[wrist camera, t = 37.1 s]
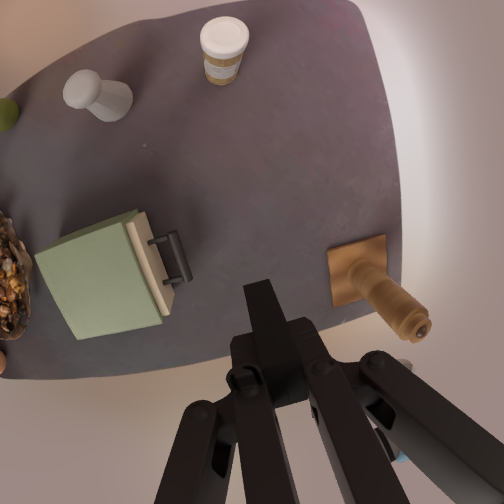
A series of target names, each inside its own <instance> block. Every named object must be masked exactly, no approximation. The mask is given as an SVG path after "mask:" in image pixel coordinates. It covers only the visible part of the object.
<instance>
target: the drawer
mask: <svg viewBox="0 0 504 504" xmlns="http://www.w3.org/2000/svg"><path fill="white" fill-rule="evenodd" d="M125 228H126V231H127V234H128V237H129V239H130V242H131V245H132V248H133V250H134V253H135V255H136V258H137V261H138V263H139V266H140V268H141V271H142V273H143V275H144V278H145V280H146V283H147V285H148V287H149V290H150V292H151V294H152V296H153V299H154V301H155V303H156V304H157V306H158V308H159V310H160V313H161V315H162V316H165V315H170V312H171V307H172V303H173V299H174V295H175V293H174V290H173V288H172V285H171V283H175V282H179V281H184V282H189V281H191V280H192V279H193V276H192V274H191V271H190V268H189V265H188V262H187V259H186V256H185V253H184V250H183V247H182V245H181V241H180V238H179V235H178V232H177V230H173V231H170V232H168V233H167V235H164V236H161V237H157V238H154V237H153V234H152V231H151V229H150V226H149V223H148V220H147V217H146V213H145V211H144V212H141V213H138V214H137V215H136V216H134V217H133V218H132V219H131V220H130V221H129V222H127V223H126V224H125ZM168 239H169V242H170V245H171V248H172V251H173V254H174V257H175V259H176V262H177V265H178V268H179V271H180V273H181V276H177V277H173V278H168V275H167V273H166V270H165V267H164V265H163V262H162V259H161V257H160V254H159V251H158V249H157V246H156V243H159V242H163V241H166V240H168Z"/></svg>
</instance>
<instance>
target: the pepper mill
mask: <svg viewBox="0 0 504 504" xmlns="http://www.w3.org/2000/svg"><path fill="white" fill-rule="evenodd" d="M348 280H349V282H350V283H351V284H352V285H353V286H354V288H355V289H356V290H357V291H358V292H359V293H360V294H361V295H362V296H363V297H364V298H365V299H366V301H367V302H368V303H369V304H370V305H371V306H372V307H373V308H374V309H375V310H376V312H377V313H378V314H379V315H380V316H381V317H382V318H383V319H384V320H385V322H386V323H387V324H388V325H389V326H390V327H391V328H392V329H393V330H394V332H395V333H396V334H397V335H398V336H399V338H400V339H402V340H410V342H412V343H417V342H419V341H421V340H422V339H423V338H425V337H426V336H427V334H428V333H429V331H430V329H431V325H432V323H431V320H429V318H428V316H429V315H428V310H427V309H426V308H425V307H424V306H422V305H421V304H420V303H419V302H418V301H417V300H416V299H415V298H413V297H412V296H411V295H410V294H409V293H408V292H406V291H405V290H404V289H403V288H402V287H401V286H399V285H398V284H397V283H396V282H395V281H393V280H392V279H391V278H390V277H389V276H387V275H386V274H385V273H384V272H383V271H381V270H380V269H379V268H378V267H376V266H375V265H374V264H373V263H371V262H370V261H369V260H367V259H360V260H357V261H356V262H354V263H353V264H352V265H351V267H350V269H349V271H348Z"/></svg>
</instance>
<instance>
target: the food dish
mask: <svg viewBox="0 0 504 504" xmlns="http://www.w3.org/2000/svg"><path fill="white" fill-rule="evenodd" d="M32 268H33V264H32V260H31V257H30V256H29V254H28V253H27V252H26V249H25V246H24V244H23V243H22V242H21V241H20V240H19V239H18V238H17V236H16V234H15V231H14V229H13V227H12V220H11V218H9V219H8V218H6V217H5V216H4V215H3V213H2V211H0V339H5V340H16V339H18V338H19V337H21V336H22V334H23V333H24V331H25V330H26V327H27V326H26V325H25V326H24V325H22V324H21V325H20V318H21V314H26V310H28V315H29V317H30V279H31V270H32ZM26 307H27V309H26ZM26 321H27V323H28V321H29V319H28V317H27V319H26ZM16 327H17V332H16Z"/></svg>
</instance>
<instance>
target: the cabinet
mask: <svg viewBox="0 0 504 504" xmlns="http://www.w3.org/2000/svg"><path fill="white" fill-rule="evenodd" d="M138 213H139V211H138V209H135V210H132V211H129V212H126V213H123V214H120V215H118V216H115V217H112V218H109V219H106V220H104V221H101V222H98V223H96V224H93V225H90V226H88V227H85V228H83V229H80V230H78V231H75V232H73V233H70V234H68V235H65V236H63V237H60V238H58V239H57V240H55V241H54V242H52V243H51V244H49V245H48V246H46V247H45V248H44V249H42V250H41V251H39V252H38V253H37V254H35V255H34V256H35V259H36V261H37V264H38V266H39V268H40V271H41V273H42V275H43V277H44V279H45V282H46V284H47V286H48V288H49V290H50V292H51V294H52V296H53V298H54V300H55V302H56V304H57V306H58V307H59V309H60V311H61V313H62V315H63V317H64V318H65V320H66V322H67V324H68V325H69V327H70V329H71V330H72V332H73V334H74V335H75V337H76V339H77V340H79V339H85V338H91V337H96V336H102V335H107V334H113V333H118V332H123V331H128V330H133V329H138V328H143V327H148V326H153V325H157V324H162V323H163V320H164V316H162V315H161V313H160V310H159V308H158V306H157V304H156V303H155V301H154V299H153V296H152V294H151V292H150V290H149V287H148V285H147V283H146V280H145V278H144V275H143V273H142V271H141V268H140V266H139V263H138V261H137V258H136V255H135V253H134V250H133V248H132V245H131V242H130V239H129V237H128V234H127V231H126V228H125V224H126V223H127V222H129V221H130V220H131V219H132V218H133V217H134V216H136V215H137V214H138Z"/></svg>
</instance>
